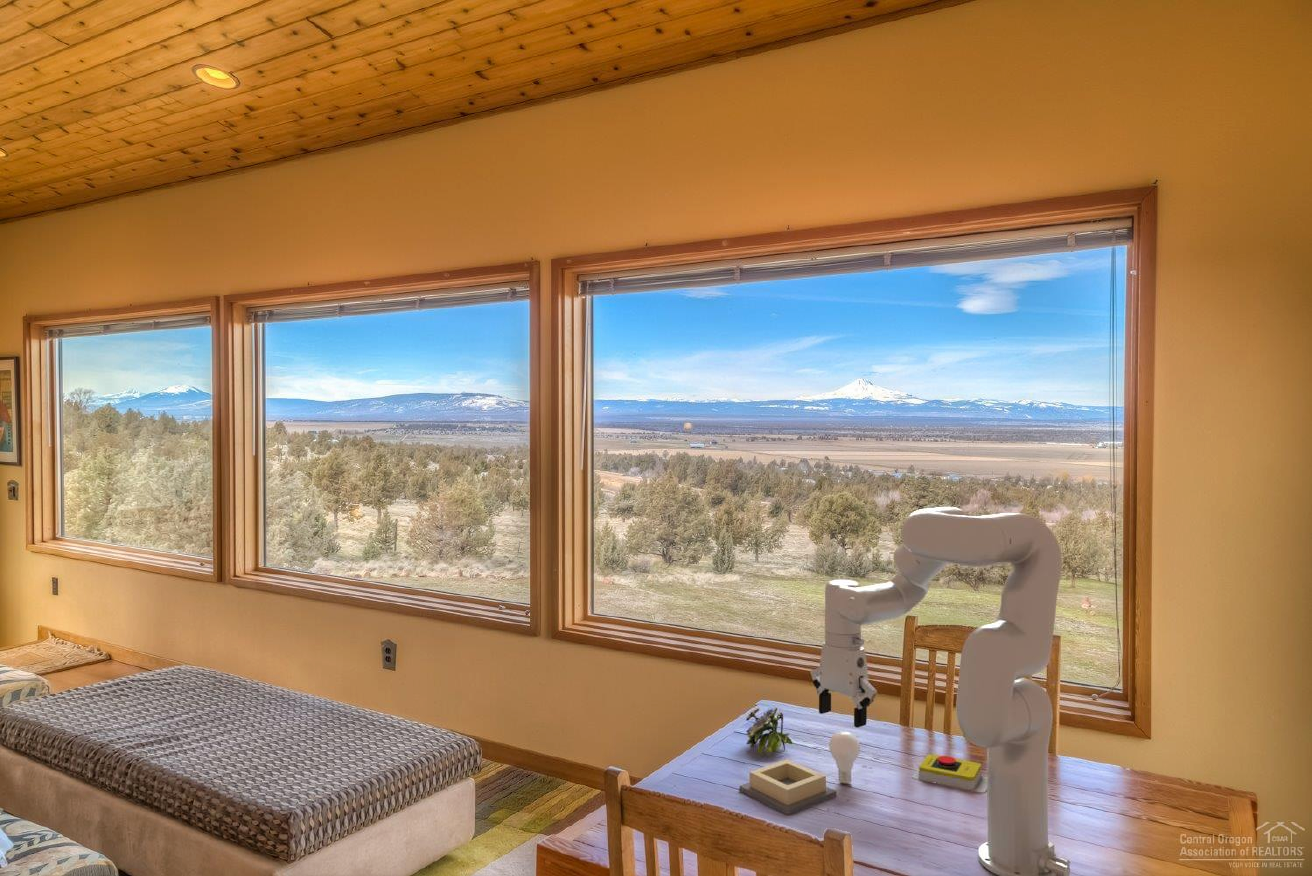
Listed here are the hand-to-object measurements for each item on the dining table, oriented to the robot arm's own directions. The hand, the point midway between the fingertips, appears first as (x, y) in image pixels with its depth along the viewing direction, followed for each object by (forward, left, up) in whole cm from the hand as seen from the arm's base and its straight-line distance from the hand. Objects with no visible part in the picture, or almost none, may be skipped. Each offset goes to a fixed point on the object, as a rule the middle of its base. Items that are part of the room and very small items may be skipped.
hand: (842, 719), depth 175 cm
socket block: (+3, +13, -14) cm, 19 cm away
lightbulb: (-1, 0, -14) cm, 14 cm away
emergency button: (-13, -20, -14) cm, 28 cm away
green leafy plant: (+23, -1, -14) cm, 27 cm away
